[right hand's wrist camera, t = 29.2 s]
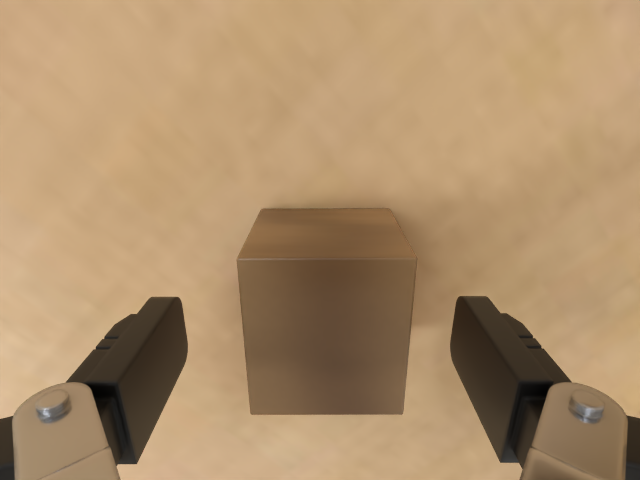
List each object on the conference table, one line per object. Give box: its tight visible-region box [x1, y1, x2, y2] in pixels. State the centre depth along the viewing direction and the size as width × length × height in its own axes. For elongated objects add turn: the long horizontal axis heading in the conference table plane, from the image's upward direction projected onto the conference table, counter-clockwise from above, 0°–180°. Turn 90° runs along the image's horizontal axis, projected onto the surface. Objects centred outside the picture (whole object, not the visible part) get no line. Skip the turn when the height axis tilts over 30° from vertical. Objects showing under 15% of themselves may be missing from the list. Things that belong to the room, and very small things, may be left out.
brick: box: [237, 209, 417, 415], centre depth 13 cm, size 5×5×4 cm
